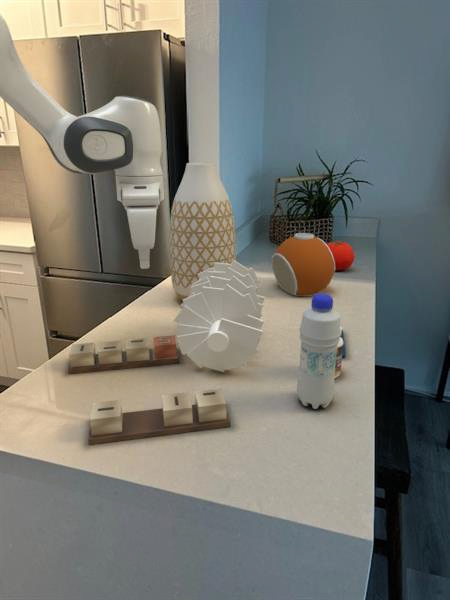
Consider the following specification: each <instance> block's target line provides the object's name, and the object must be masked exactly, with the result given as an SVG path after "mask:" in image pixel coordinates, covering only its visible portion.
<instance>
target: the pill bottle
mask: <svg viewBox="0 0 450 600" xmlns="http://www.w3.org/2000/svg"><path fill="white" fill-rule="evenodd" d="M340 329H341V333H342V330H343V327H342V326H341V325H340ZM340 336H341V335H340ZM342 353H343V340H342V338H341V337H340V341H339V343H338V344H337V353H336V363H335V373H334V379H336V378H338V377H340V375H341V371H342V361H343V360H342V359H343V357H342Z"/></svg>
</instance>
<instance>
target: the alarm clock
mask: <svg viewBox="0 0 450 600" xmlns="http://www.w3.org/2000/svg"><path fill="white" fill-rule="evenodd" d="M271 269H272V273H273V275H274V277H275V280H276V282H277V284H278V285H279V287H280V289H282V290H284V291H285V292H287V293H289V294H290V295H292V296H298V297H313V296H314V295H316V294H321V293H322V291H323V290H325V289H326V288H327V287H328V286H329V285H330V283H331V281H332V279H333V277H334V275H335V272H336V270H335V261H334V257H333V254H332V252H331V251H330V249H329V247H328V246H327V243H326V242H325V241H324V240H323V239H321V238H319V237H317V236H315V235H314V234H313V233H309V232H298V233H295V234H294V236H290V237H289V238H287V239H285V240H284V241H283V242H282V243H281V244H280V245H279V246H278V247H277V248H276V250H275V251H274V252H273V254H272V256H271Z"/></svg>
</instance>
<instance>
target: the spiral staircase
mask: <svg viewBox="0 0 450 600" xmlns="http://www.w3.org/2000/svg"><path fill="white" fill-rule="evenodd" d="M198 277H199V278H200V279H199V280H198V281H197V282H195V283H194V284H192V285H191V286H192V287H191V291H190V292H191V294H190V295H189V297H188V298H185V299H183V300H182V303H181V304H180V308H182V309H180V311H179V312H178V314H177V315H176V317H174V319H173V322H175V324H177V325H176V338H175V340H176V344H178V346H179V349H180V352H181V355H186V356H187V357H188V358H189V359H190V360H191V361H192V362H193V363H194V364H195V365H197V366H198V367H199V368H200V369H202V368H204V367H205V368H208V369H211V370H214V371H218V372H221V373H225V371H227V370H234V369H240V368H241V369H242V368H246V367H247V365H246V363H248V362H249V361H251V359H252V358H254V357H255V356H256V355H258V354H259V353H260V352H261V350H260V349H259V348H258V346H259V342H260V340H261V338H262V335H263V333H264V330H262V327H263V326H264V323H265V320H263V319H261V317H263V316H264V315H263V313H262V311H263V307H264V301H265V298H266V297H265V296H262V295H259V294H257V292H256V291H257V290H258V287H257V284H259V283H260V282H261V281H260V280H259V278H258V275H257V273H256V270H255V269H254V267H253V266H252V267H250V268H247V267H246V266H243V264H241V263H239V262H238V261H237V260H236V261H235V260H234V261H233V262H232V264H225V263H215V262H214V268H213V267H212V268H210V269H208V270H206V271H203V272H201V273H199V274H198Z"/></svg>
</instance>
